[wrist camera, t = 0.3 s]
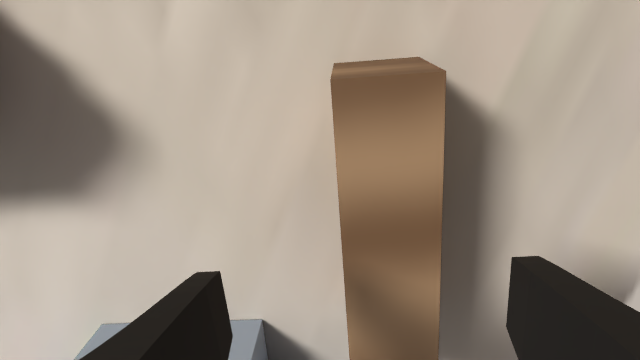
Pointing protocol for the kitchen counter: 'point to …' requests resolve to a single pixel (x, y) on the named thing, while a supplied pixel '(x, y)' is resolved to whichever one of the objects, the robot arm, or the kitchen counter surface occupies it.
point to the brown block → (390, 203)
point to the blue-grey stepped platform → (245, 347)
